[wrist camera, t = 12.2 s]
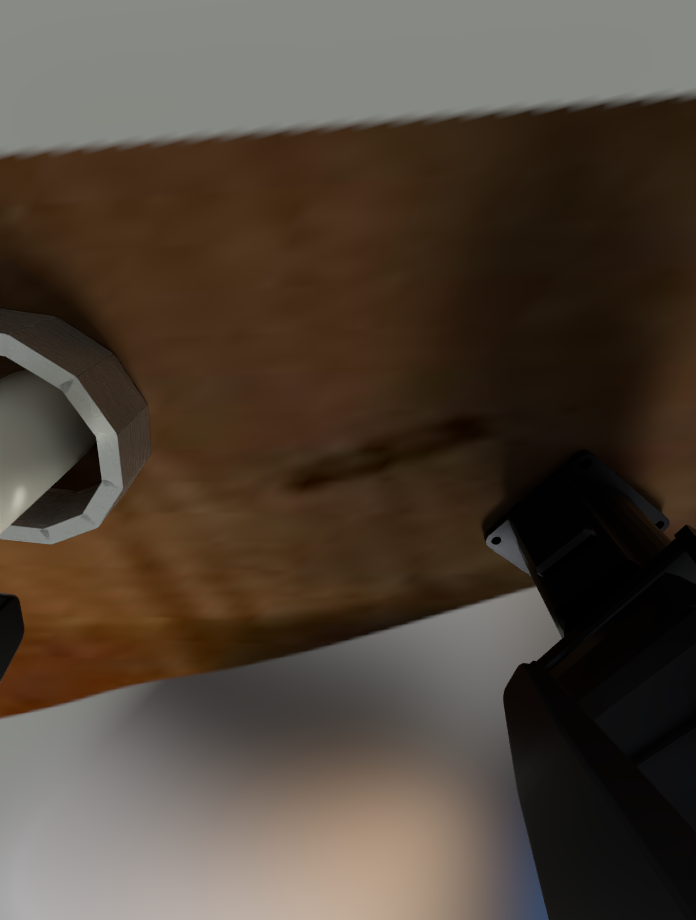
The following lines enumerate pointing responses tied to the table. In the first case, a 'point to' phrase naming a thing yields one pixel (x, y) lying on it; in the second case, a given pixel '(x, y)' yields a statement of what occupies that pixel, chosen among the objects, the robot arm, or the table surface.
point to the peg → (35, 441)
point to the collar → (99, 404)
